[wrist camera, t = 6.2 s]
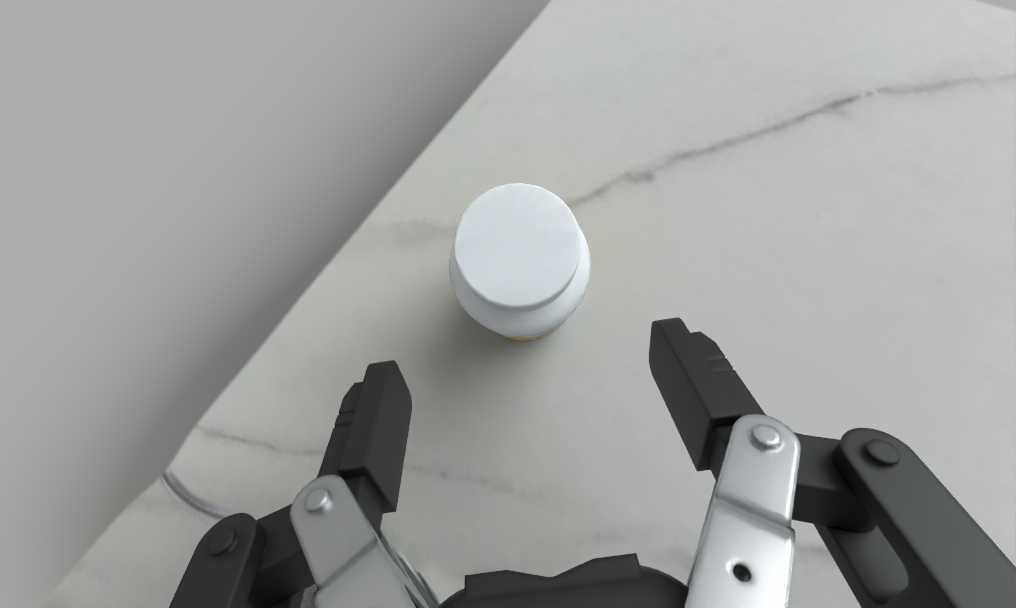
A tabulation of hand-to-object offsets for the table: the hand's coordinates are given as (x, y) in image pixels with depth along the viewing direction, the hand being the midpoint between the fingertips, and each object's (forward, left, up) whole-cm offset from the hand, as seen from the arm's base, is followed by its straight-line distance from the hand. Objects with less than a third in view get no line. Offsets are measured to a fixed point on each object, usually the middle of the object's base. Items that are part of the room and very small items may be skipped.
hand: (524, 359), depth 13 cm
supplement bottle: (0, +4, -9) cm, 10 cm away
